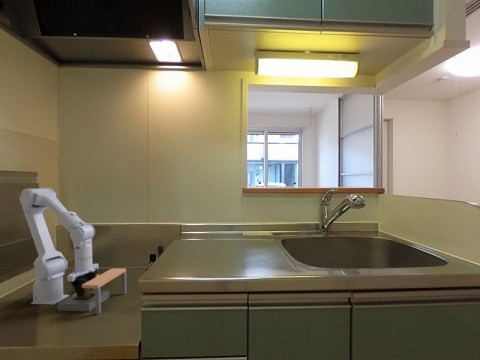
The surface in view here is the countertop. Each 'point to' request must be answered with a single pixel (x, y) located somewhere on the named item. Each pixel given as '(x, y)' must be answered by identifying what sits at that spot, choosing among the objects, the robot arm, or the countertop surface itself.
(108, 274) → the orange bridge
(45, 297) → the robot arm
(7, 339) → the countertop surface
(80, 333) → the countertop surface
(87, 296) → the peg
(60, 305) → the socket
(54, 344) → the countertop surface
